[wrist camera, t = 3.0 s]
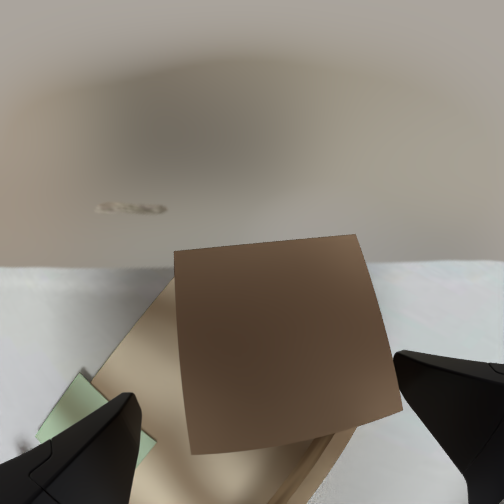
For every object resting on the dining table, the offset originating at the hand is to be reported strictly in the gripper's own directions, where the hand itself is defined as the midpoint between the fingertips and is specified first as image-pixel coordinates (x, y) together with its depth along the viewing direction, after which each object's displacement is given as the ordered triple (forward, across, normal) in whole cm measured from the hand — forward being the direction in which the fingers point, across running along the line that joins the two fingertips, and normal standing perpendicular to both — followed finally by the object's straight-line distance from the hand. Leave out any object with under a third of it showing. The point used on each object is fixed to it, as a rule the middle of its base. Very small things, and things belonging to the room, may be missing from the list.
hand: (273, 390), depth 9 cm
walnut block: (+7, 0, -6) cm, 9 cm away
